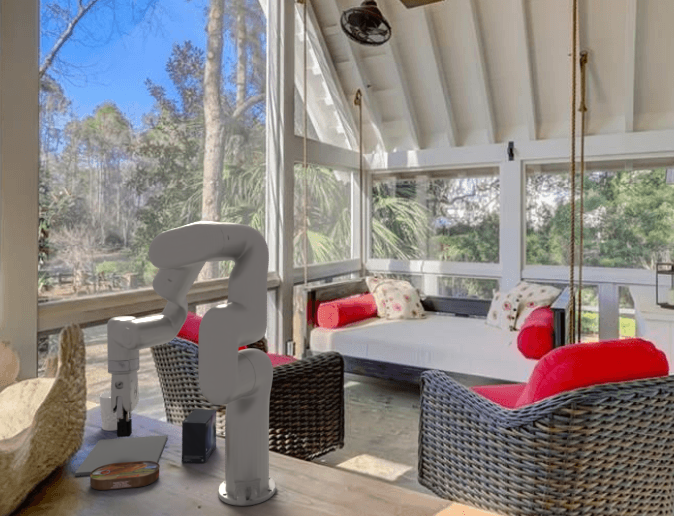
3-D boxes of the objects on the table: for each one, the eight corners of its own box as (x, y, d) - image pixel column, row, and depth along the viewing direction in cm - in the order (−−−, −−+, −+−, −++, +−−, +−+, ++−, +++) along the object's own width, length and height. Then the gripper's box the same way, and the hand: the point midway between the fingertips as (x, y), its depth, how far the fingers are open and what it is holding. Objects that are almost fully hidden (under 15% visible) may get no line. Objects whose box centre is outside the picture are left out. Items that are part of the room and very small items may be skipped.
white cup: (111, 433, 142) (110, 399, 142) (94, 428, 146) (93, 395, 146) (134, 425, 149) (134, 392, 149) (117, 420, 153) (117, 388, 153)
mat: (155, 469, 119) (155, 466, 119) (75, 476, 116) (75, 472, 116) (167, 438, 139) (167, 435, 139) (99, 442, 135) (99, 439, 135)
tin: (162, 459, 119) (156, 472, 111) (162, 472, 119) (156, 486, 111) (96, 464, 116) (84, 478, 108) (96, 477, 116) (84, 492, 108)
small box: (206, 463, 123) (206, 422, 122) (180, 463, 123) (180, 422, 122) (217, 446, 133) (217, 408, 133) (194, 446, 133) (193, 408, 133)
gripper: (132, 371, 119) (133, 446, 120) (144, 357, 134) (145, 424, 134) (99, 373, 118) (100, 448, 118) (115, 358, 132) (116, 426, 133)
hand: (124, 435), depth 126 cm, fingers closed
